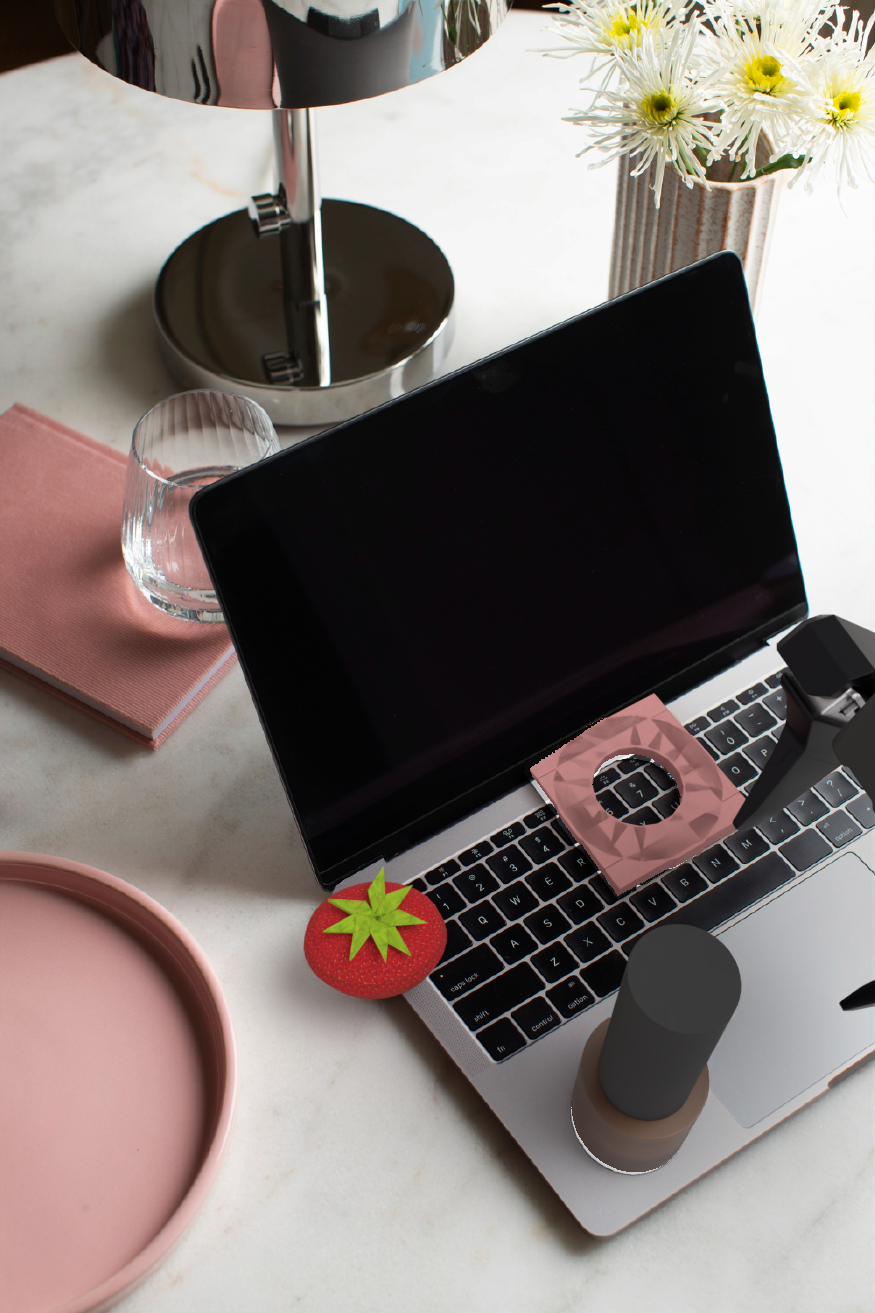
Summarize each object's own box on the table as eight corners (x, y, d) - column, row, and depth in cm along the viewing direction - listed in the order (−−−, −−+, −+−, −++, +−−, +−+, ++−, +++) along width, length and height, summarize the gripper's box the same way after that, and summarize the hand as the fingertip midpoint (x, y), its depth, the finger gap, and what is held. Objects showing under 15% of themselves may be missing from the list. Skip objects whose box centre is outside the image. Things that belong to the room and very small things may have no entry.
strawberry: (312, 935, 65) (290, 855, 57) (442, 920, 65) (438, 838, 57) (316, 1037, 62) (294, 967, 54) (454, 1021, 62) (452, 949, 54)
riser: (710, 1134, 58) (736, 1095, 53) (614, 1199, 56) (631, 1165, 51) (640, 1034, 61) (657, 987, 56) (547, 1092, 60) (555, 1050, 54)
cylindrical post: (711, 1089, 53) (766, 996, 43) (635, 1140, 51) (673, 1056, 42) (654, 1009, 55) (693, 904, 45) (579, 1056, 54) (603, 958, 44)
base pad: (753, 822, 69) (758, 810, 68) (616, 903, 66) (618, 892, 65) (651, 703, 74) (654, 690, 73) (520, 773, 71) (520, 760, 70)
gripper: (864, 477, 43) (590, 724, 51) (1223, 899, 33) (811, 1135, 40) (977, 549, 51) (724, 756, 58) (1299, 912, 40) (940, 1109, 48)
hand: (788, 913), depth 51 cm, fingers open, 9 cm apart
